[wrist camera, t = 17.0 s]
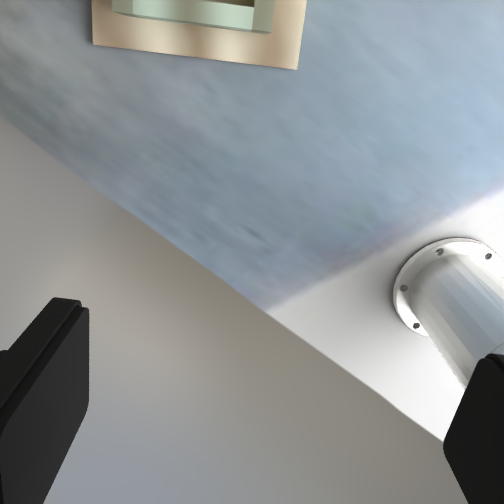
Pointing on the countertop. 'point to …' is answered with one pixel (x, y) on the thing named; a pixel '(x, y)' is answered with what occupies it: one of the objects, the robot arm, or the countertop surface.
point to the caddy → (204, 28)
